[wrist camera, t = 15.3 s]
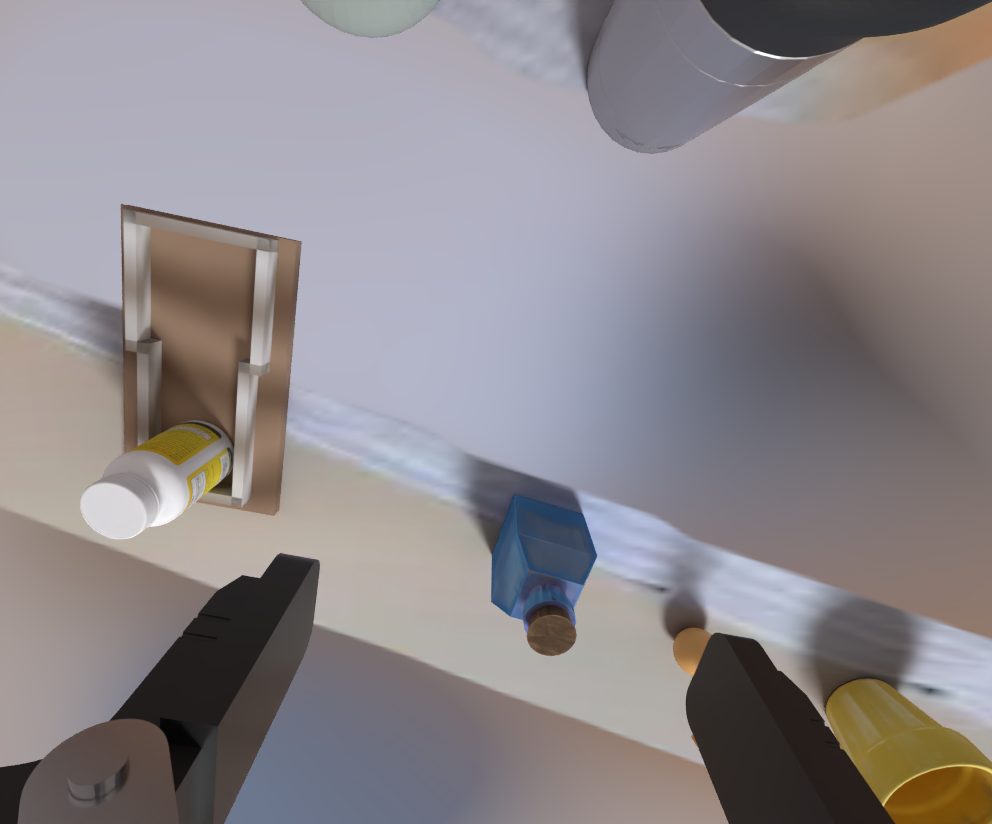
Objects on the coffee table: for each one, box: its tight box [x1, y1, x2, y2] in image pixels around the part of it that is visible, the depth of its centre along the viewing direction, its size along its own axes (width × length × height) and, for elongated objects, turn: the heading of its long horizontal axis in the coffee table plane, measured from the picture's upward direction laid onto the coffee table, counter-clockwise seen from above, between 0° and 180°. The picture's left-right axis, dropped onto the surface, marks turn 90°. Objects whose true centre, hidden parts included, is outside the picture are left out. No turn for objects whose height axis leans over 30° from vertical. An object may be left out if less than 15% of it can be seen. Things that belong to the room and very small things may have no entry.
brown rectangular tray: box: [121, 204, 301, 516], centre depth 38 cm, size 22×12×2 cm, turn 168°
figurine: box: [673, 628, 712, 747], centre depth 41 cm, size 8×6×12 cm
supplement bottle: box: [80, 420, 234, 539], centre depth 35 cm, size 5×5×10 cm
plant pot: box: [826, 678, 992, 824], centre depth 44 cm, size 10×10×10 cm
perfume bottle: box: [491, 494, 597, 656], centre depth 37 cm, size 6×6×12 cm
